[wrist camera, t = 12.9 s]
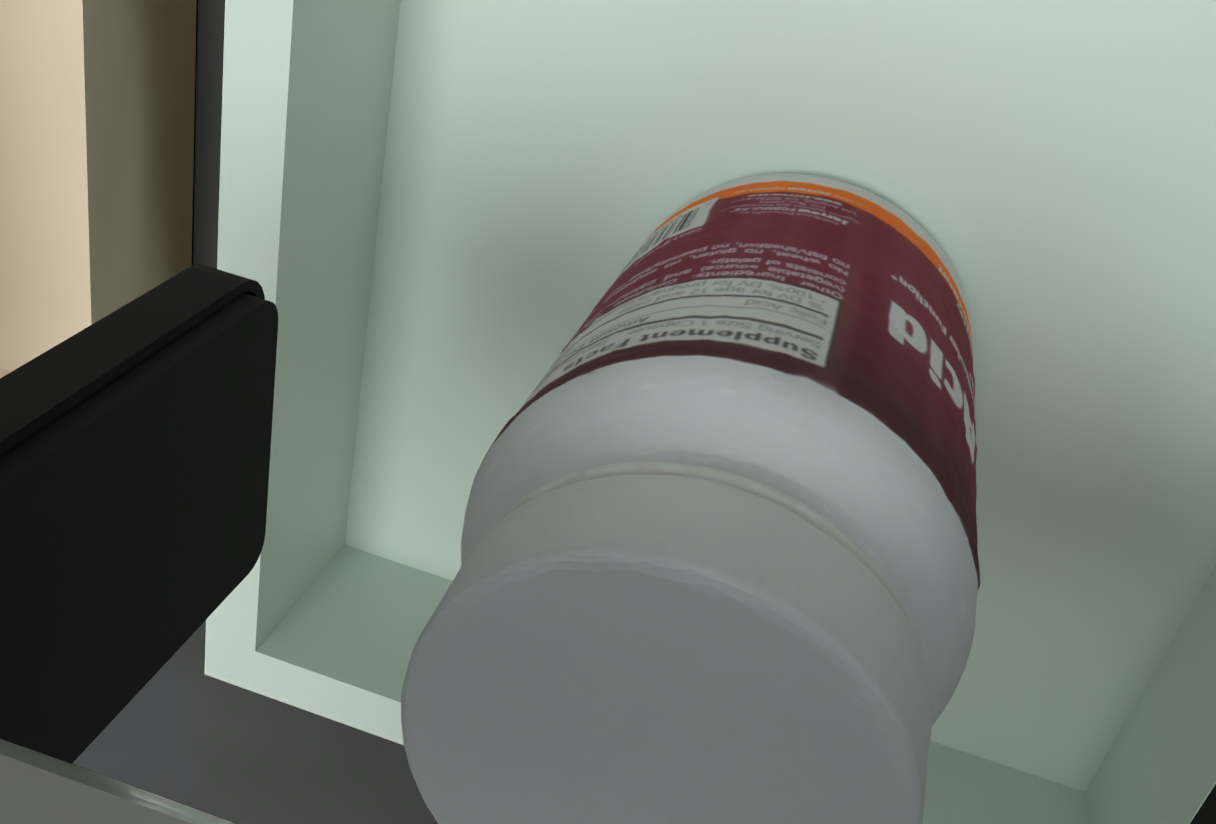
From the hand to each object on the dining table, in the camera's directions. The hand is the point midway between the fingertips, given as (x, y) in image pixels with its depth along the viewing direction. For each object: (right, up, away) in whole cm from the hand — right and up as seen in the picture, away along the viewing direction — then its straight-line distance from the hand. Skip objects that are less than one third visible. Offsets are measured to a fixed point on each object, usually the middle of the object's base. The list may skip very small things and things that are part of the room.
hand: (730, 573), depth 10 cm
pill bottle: (+1, +3, +6) cm, 6 cm away
